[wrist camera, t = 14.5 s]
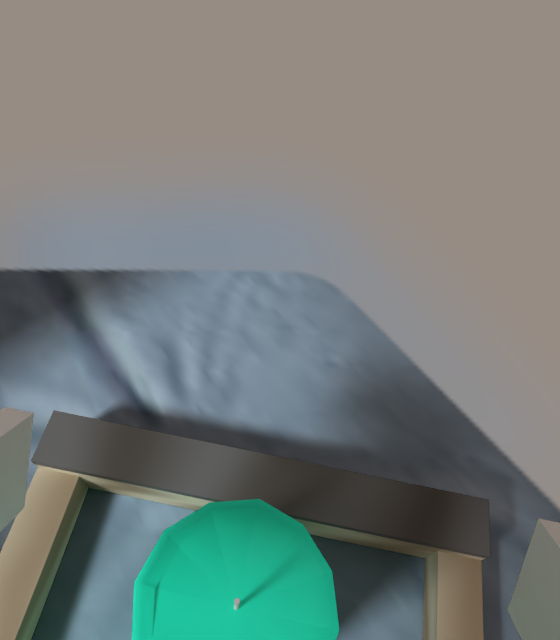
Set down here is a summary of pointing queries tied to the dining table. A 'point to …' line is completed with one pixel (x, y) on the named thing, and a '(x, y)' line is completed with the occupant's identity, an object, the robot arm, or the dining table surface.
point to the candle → (235, 579)
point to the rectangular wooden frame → (230, 485)
